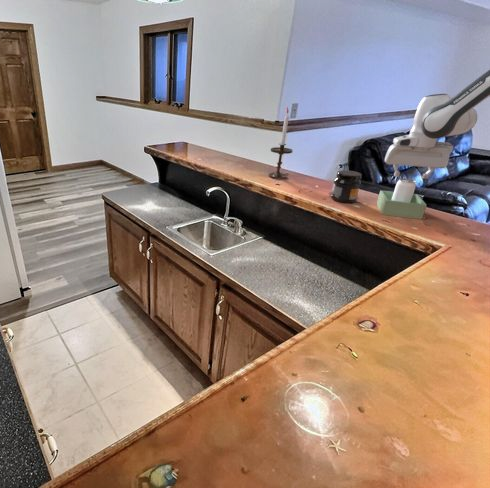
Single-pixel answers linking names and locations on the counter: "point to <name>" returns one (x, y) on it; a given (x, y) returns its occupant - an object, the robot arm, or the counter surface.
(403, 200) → the can
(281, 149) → the candlestick
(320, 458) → the counter surface
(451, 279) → the counter surface
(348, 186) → the supplement container
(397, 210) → the box
